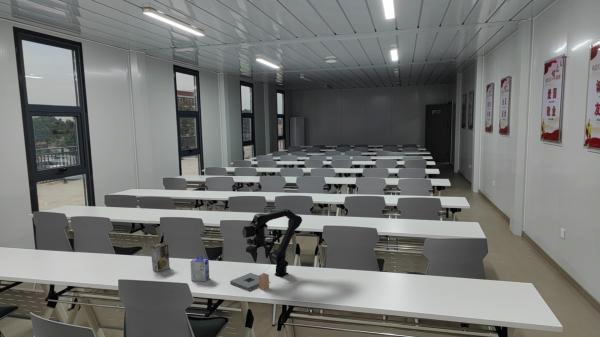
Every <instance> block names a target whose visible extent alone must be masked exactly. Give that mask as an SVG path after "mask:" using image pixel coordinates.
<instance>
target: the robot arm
mask: <svg viewBox="0 0 600 337" xmlns="http://www.w3.org/2000/svg"><path fill="white" fill-rule="evenodd" d="M285 217H286V218H287V219H288V222H287V227H286V231H285V233H284V235H283V237H282V240H281V242H280V244H279V246H278V248H277V249H275V248H274V247H275V246H276V245H275V244H276V243H275V241H274V240H270V239H267V236H266V233H265V232H266V231H265V229H266V228H268V227H269V225H267V223H269V221H273V220H276V219H280V218H285ZM302 222H303V218H302V216H300V215H297V213H295V212H293V211H291V210H290V209H288V208H283V209H280V210H275V211H272V212H267V213H263V212H262V213H255V214H254V215H253V219H252V221H250V224H249V225H244V226H243V228H242V231H241V234H242V237H243V238H244V239H246V244H247V245H248V246H246V247H245V252H246V253H249V254H250V255H251V257H252V259H253V262H254V263H255V264H256V263H257V260H258V250H259V249H262V248H264V256H265V259H268V257H269V256H270V253H271V252H272V249H273V248H274V249H273V252H272V254H271V261H272V262H274V264H275V273H274V276H277V277H280V278H283V277H285V276H287V275H289V272H287V271H288V270H287V269H288V268H287V267H288V266H289V261H287V260H286V256H287V251H288V250H287V249H288V247H289V245H290V242H291V240H292V238H293V236H294V234H295V231H296V230H297V229H298V228H299V227H300V226H301V224H302ZM251 237H252V238H251ZM266 239H267V240H266Z"/></svg>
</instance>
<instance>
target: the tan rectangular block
mask: <svg viewBox="0 0 600 337" xmlns="http://www.w3.org/2000/svg"><path fill="white" fill-rule="evenodd" d="M258 275H259V286H258V289H259V290H262V291H266V290H268V289H270V274H268V273H265V272H263V273H261V274H258Z"/></svg>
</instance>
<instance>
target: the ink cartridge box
mask: <svg viewBox="0 0 600 337" xmlns="http://www.w3.org/2000/svg"><path fill="white" fill-rule="evenodd" d="M189 263H190V279H191V280H190V281H194V282H195V281H196V282H198V281H199V282H207V281H208V280H209V279H210V264H209V263H210V262H209V258H204V255H197V258H193V259H192V260H191V261H190V262H189Z"/></svg>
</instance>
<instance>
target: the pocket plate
mask: <svg viewBox="0 0 600 337" xmlns="http://www.w3.org/2000/svg"><path fill="white" fill-rule="evenodd" d="M259 275H260V274H255V273H253V272H248V273H246V274H244V275H241V276H239V277H237V278H234V279H232V280H230V281H229V282H230V285H232V286H235V287H237V288H240V289H242V290H245V291H248V292H249V291H252V290H254V289H256V288H259Z"/></svg>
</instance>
